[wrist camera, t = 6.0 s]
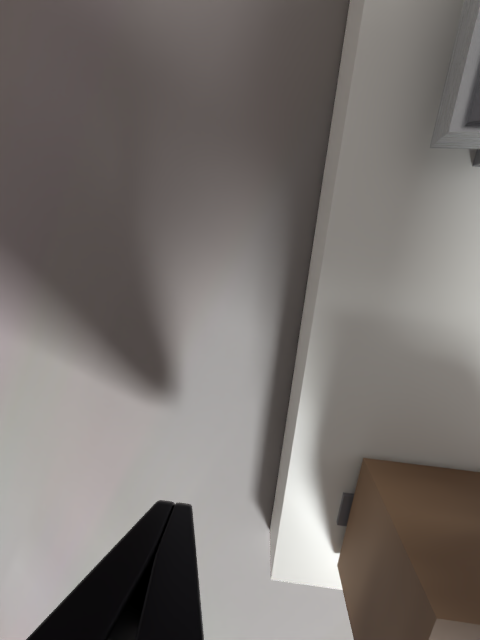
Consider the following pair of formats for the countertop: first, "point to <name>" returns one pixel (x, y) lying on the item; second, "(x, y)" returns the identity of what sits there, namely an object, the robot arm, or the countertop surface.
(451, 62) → the rocker switch
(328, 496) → the control panel
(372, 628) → the slider knob
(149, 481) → the countertop surface
